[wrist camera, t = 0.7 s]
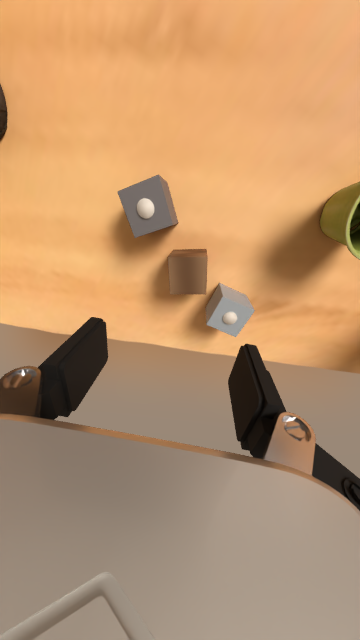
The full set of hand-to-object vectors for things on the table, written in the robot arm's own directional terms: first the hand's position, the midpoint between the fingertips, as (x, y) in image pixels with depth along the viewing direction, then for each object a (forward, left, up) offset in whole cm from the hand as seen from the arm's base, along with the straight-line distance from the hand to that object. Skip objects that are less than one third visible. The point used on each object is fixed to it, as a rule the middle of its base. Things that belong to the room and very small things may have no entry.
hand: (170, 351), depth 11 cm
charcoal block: (+6, -7, -22) cm, 24 cm away
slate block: (-7, +5, -22) cm, 24 cm away
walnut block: (0, 0, -22) cm, 22 cm away
